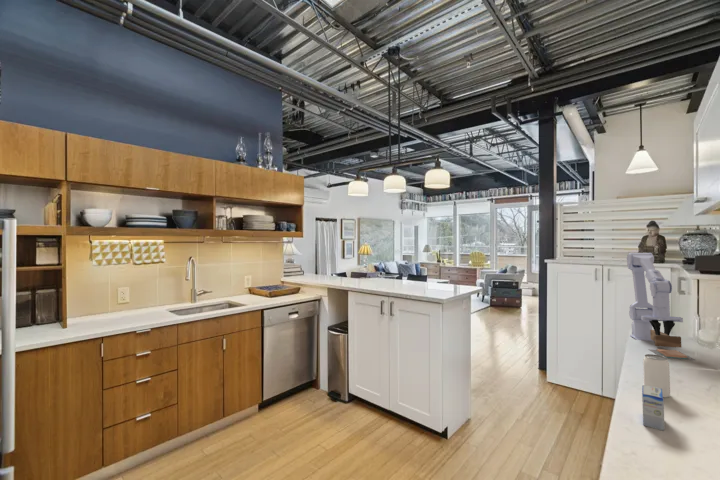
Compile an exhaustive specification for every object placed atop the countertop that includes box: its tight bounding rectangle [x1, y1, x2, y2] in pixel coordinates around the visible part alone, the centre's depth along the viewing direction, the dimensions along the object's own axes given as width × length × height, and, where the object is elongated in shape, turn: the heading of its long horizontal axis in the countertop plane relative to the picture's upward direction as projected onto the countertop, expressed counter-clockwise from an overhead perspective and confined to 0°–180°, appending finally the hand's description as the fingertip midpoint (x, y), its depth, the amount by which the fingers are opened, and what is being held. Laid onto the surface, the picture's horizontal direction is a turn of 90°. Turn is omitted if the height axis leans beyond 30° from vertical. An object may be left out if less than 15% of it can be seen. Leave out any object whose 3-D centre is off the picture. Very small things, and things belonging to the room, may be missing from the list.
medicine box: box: [641, 384, 665, 431], centre depth 94 cm, size 8×4×9 cm, turn 141°
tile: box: [656, 348, 688, 360], centre depth 148 cm, size 1×7×8 cm
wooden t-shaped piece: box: [650, 329, 682, 348], centre depth 156 cm, size 13×9×4 cm
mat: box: [648, 348, 696, 361], centre depth 149 cm, size 12×12×1 cm
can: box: [642, 353, 671, 399], centre depth 112 cm, size 6×6×12 cm
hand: (662, 337), depth 155 cm, fingers closed on wooden t-shaped piece, 2 cm apart
